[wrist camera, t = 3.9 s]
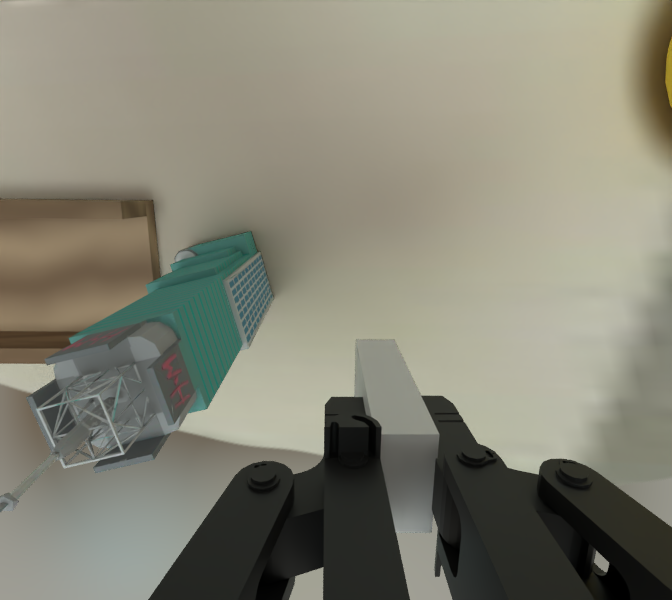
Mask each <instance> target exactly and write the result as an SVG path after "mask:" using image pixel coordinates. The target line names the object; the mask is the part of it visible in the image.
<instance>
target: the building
mask: <svg viewBox="0 0 672 600" xmlns="http://www.w3.org/2000/svg"><path fill="white" fill-rule="evenodd" d="M170 266H171V269H172V271H173V272H171V273H168V274H166V275H164V276H162V277H160V278H158V279H156V280H154V281H152V282H150V283H148V284H146V285H145V286H146V288H147V291H148V295H146V296H144V297H142V298H140V299H139V300H137V301H135V302H133V303H131V304H130V305H128V306H126V307H124V308H122V309H121V310H119V311H117V312H115V313H113V314H111V315H110V316H108V317H106V318H104V319H102V320H101V321H99V322H97V323H95V324H93V325H92V326H90V327H88V328H86V329H84V330H82V331H81V332H79V333H77V334H75V335H73V336H72V337H70V338H69V340H70V343H71V345H69V346H67V347H65V348H63V349H62V350H60V351H58V352H56V353H55V354H53V355H51V356H49V357H47V358H46V359H44V360H45V362H46V364H47V365H50V364H54V363H56V364H55V366H54V373H55V378H56V379H54V380H53V381H51V382H50V383H48V384H47V385H45V386H44V387H42V388H40V389H39V390H37V391H36V392H34V393H33V394H31V395H30V396H28V397H26V399H27V401H28V403H29V405H30V407H31V409H32V411H33V414H34V416H35V418H36V420H37V422H38V424H39V426H40V428H41V431H42V433H43V435H44V437H45V439H46V441H47V443H48V445H49V447H50V449H51V453H50V456H49V457H48V458H47V459H46V460H45V461H44V462H43V463H42V464H41V465H40V466H39V467H38V468H37V469H36V470H34V471H33V472H32V473H31V474H30V475H29V476H28V477H27V478H26V479H25V480H24V481H23V482H22V483H21V484H20V485H19V486H18V487H17V488H16V489H15V490H14V491H13V492H12V493H10V494H9V493H6V494H4V495H2V496H0V512H1V511H13V510H14V508H15V507H16V505H17V503H18V502H19V501H18V500H17V499H18V498H19V497H20V496H21V495H22V494H23V493H24V492H25V491H26V490H27V489H28V488H29V487H30V486H31V485H32V484H33V483H34V482H35V481H36V480H37V479H38V478H39V477H40V476H41V474H43V473H44V472H45V471H46V470H47V469H48V468H49V466H51V465H52V464H53V462H54V461H57V460H60V461H61V463H62V466H63V467H64V468H68V467H72V466H76V465H81V464H85V463H89V462H94V461H98V460H100V461H99V462H98V463H97V464H96V465H95V466H94V471H95V473H98V472H102V471H106V470H111V469H115V468H119V467H124V466H128V465H133V464H137V463H141V462H146V461H150V460H154V459H155V457H156V456H157V454H158V452H159V451H160V449H161V448H162V446H163V445H164V443H165V441H166V440H167V438H168V437H169V435H170V433H171V432H173V431H175V430H177V429H179V427H180V426H181V424H182V422H183V420H184V419H185V417H186V415H187V414H188V413H191V412H196V411H200V410H205V409H207V408H208V406H209V404H210V403H211V401H212V399H213V397H214V396H215V394H216V392H217V390H218V388H219V387H220V385H221V383H222V381H223V379H224V378H225V376H226V374H227V372H228V371H229V369H230V367H231V365H232V363H233V362H234V360H235V358H236V356H237V354H238V353H239V351H240V350H244V349H248V348H249V347H250V345H251V343H252V341H253V339H254V337H255V335H256V333H257V331H258V329H259V327H260V325H261V323H262V321H263V319H264V317H265V315H266V313H267V311H268V309H269V307H270V306H271V304H272V302H273V300H274V297H273V295H272V291H271V289H270V286H269V280H268V279H267V275H266V270H265V268H264V263H263V260H262V256H261V251H260V252H257V249H256V247H255V243H254V240H253V236H252V233H251V231H250V232H246V233H242V234H238V235H234V236H230V237H226V238H222V239H218V240H214V241H210V242H206V243H202V244H198V245H194V246H191V247H189V248H186V249H184V250H181V251H179V252H178V253H177V255H176V256H175V263H173V264H171V265H170ZM83 441H85V442H86V444H85V445H84V446H83V447H82V448H81V449H80V450H78V449H77V448H78V447H79V445H80V444H81V443H82V442H83ZM92 444H93V445H95V446H97V447H99V449H100V448H103V449H102V450H101V451H100V453H99V454H98V455H97V456H95V455H94V452H93V448H92ZM86 446H88V448H89V451H90V453H91V455H92V456H90V455H89V454H87V453H84V452H82V450H83V449H84V448H85V447H86ZM105 448H109V449H108V450H106V451H105V452H103V453H102V451H103V450H104V449H105ZM73 451H77V453H76V454H75V455H74V456H73V457H72V458H71V459H70V460H69V461H68V462H67V463H66V461H65V459H64V457H66V456H67V455H69V454H70V453H72V452H73ZM79 453H81V454H83V455H85V456H87V457H89V458H91V459H88V460H84V461H81V462H77V463H73V464H69V463H70V462H71V461H72V460H73V459H74V458H75V457H76V456H77V455H78V454H79ZM97 453H98V452H97ZM101 453H102V454H101ZM103 455H104V456H103ZM68 464H69V465H68Z"/></svg>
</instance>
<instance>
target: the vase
mask: <svg viewBox="0 0 672 600" xmlns="http://www.w3.org/2000/svg"><path fill="white" fill-rule="evenodd" d="M665 83H666V88H667V93H668V98H669V103H670V106H671V108H672V38H671V41H670V45H669V48H668V53H667V59H666V78H665Z"/></svg>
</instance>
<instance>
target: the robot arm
mask: <svg viewBox="0 0 672 600" xmlns="http://www.w3.org/2000/svg"><path fill="white" fill-rule="evenodd" d="M433 515H434V518H435V521H436V524H437V527H438V534H437V546H436V557H435V577H439V576H440V567H441V565H442V567H443V570H444V573H445V576H446V580H447V583H448V586H449V589H450V593H451V596H452V599H453V600H672V527H671V526H669V525H668V524H666V523H665V522H664V521H662V520H661V519H660V518H658V517H657V516H656V515H654V514H653V513H652V512H650V511H649V510H648V509H646V508H645V507H643V506H642V505H641V504H639V503H638V502H637V501H635V500H634V499H633V498H631V497H630V496H629V495H627V494H626V493H624V492H623V491H622V490H620V489H619V488H618V487H616V486H615V485H614V484H612V483H611V482H610V481H608V480H607V479H606V478H604V477H603V476H602V475H600V474H599V473H597V472H596V471H594V470H592V469H591V468H589V467H587V466H585V465H583V464H580V463H577V462H576V461H572V460H567V459H549V460H547V461H544V462H543V463H542V465H541V466H540V470H539V475H537V474H532V473H527V472H522V471H517V470H514V469H510V468H507V466H506V465H505V463H504V462H503V460H502V459H501V458H500V457H499V456H498V455H497V454H496V452H495V451H493V450H491V449H489V448H487V447H486V446H483V445H480V444H478V443H477V442H476V440H475V438H474V437H473V435H472V434H471V432H470V430H469V429H468V427H467V425H466V424H465V422H463V419H462V417H461V416H460V415H459V412H458V411H457V409H456V407H455V406H454V404H453V403H451V402H450V401H449V400H447V399H446V398H444V397H443V396H421V394H420V392H419V390H418V388H417V386H416V384H415V382H414V380H413V378H412V375H411V373H410V371H409V369H408V367H407V365H406V363H405V361H404V359H403V357H402V354H401V352H400V350H399V348H398V346H397V344H396V342H395V340H372V339H356V353H355V394H354V397H331V398H330V399H329V401H328V402H327V403H326V404H325V427H324V457H323V459H322V460H321V462H320V463H319V464H318V465H317V466H315V467H313V468H312V469H310V470H308V471H305V472H302V473H298V474H293V473H292V471H291V469H289V468H288V467H287V466H286V465H284V464H281V463H278V462H274V461H262V462H258V463H253V464H251V465H249V466H247V467H245V468H243V469H241V470H240V471H239V472H238V474H236V475H235V477H234V478H233V479H232V481H231V482H230V484H229V485H228V487H227V488H226V490H225V491H224V492H223V494H222V495H221V497H220V498H219V499H218V501H217V502H216V504H215V505H214V507H213V508H212V510H211V511H210V512H209V514H208V515H207V517H206V518H205V519H204V521H203V522H202V524H201V525H200V527H199V528H198V529H197V531H196V532H195V534H194V535H193V537H192V538H191V539H190V541H189V543H188V544H187V545H186V547H185V548H184V549H183V551H182V552H181V554H180V555H179V557H178V558H177V559H176V561H175V562H174V564H173V565H172V567H171V568H170V569H169V571H168V572H167V574H166V575H165V577H164V578H163V579H162V581H161V582H160V584H159V585H158V587H157V588H156V589H155V591H154V592H153V594H152V595H151V597H150V598H149V599H148V600H289V597H290V595H291V592H292V589H293V586H294V582H295V576H297V575H300V574H303V573H306V572H309V571H312V570H315V569H318V568H322V567H324V571H323V572H324V573H323V575H324V576H323V578H324V580H323V600H410V598H409V594H408V589H407V584H406V579H405V574H404V569H403V564H402V560H401V555H400V550H399V545H398V540H397V536H396V533H414V532H415V533H418V532H419V533H421V532H422V533H423V532H425V533H427V532H432V521H433ZM596 550H597V551H598V552H599V553H600V554H601V555H602V556H603V557H604V558H605V559H606V560H607V561H608V562H609V568H608V571H607V573H606V572H604V571H603V570H601V569H600V568H599V567H598V566H597V565H596V564H595V563H594V559H595V554H596Z"/></svg>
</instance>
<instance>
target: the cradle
mask: <svg viewBox="0 0 672 600" xmlns="http://www.w3.org/2000/svg"><path fill="white" fill-rule="evenodd" d="M158 278H160V268H159V258H158V247H157V237H156V226H155V216H154V205H153V200H69V199H0V363H27V364H46V362H45V360H44V359H46V358H47V357H49V356H51V355H53V354H55V353H56V352H58V351H60V350H62V349H63V348H65V347H67V346H69V345H71V343H70V340H69V338H70V337H72V336H73V335H75V334H77V333H79V332H81V331H82V330H84V329H86V328H88V327H90V326H92V325H93V324H95V323H97V322H99V321H101V320H102V319H104V318H106V317H108V316H110V315H111V314H113V313H115V312H117V311H119V310H121V309H122V308H124V307H126V306H128V305H130V304H131V303H133V302H135V301H137V300H139V299H140V298H142V297H144V296H146V295H148V291H147V288H146V286H145V285H146V284H148V283H150V282H152V281H154V280H156V279H158ZM54 364H56V363H54Z"/></svg>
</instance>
